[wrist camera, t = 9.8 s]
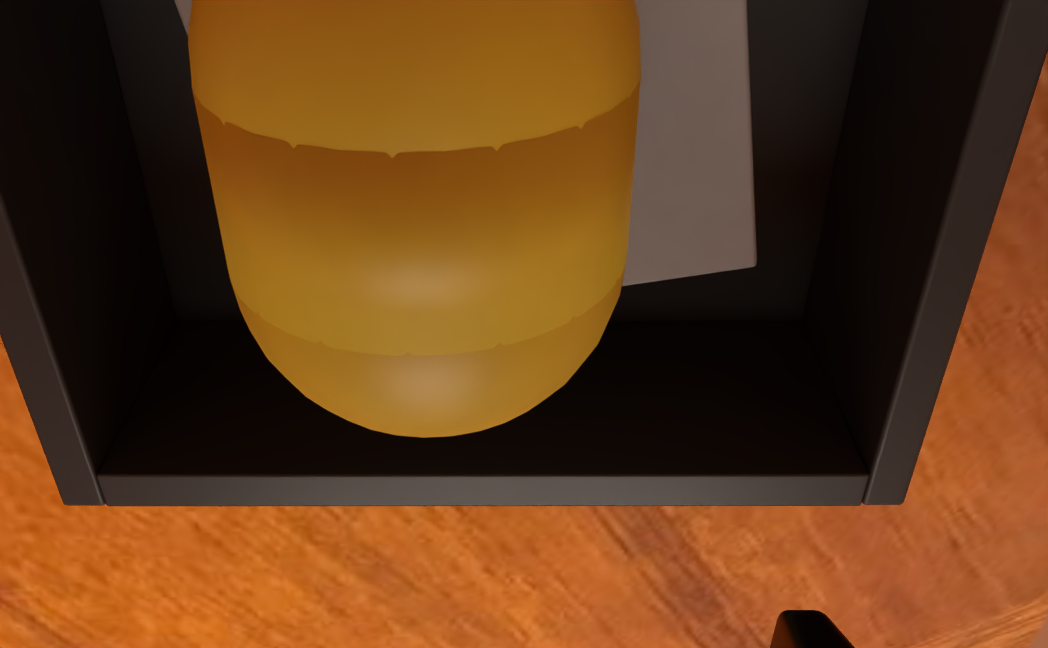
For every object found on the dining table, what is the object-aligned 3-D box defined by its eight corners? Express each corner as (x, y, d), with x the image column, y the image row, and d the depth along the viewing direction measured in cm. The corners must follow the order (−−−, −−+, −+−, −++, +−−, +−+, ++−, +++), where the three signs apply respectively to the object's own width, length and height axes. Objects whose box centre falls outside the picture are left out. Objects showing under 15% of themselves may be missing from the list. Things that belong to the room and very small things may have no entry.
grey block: (687, -301, 15) (736, -295, 11) (716, 166, 19) (758, 267, 16) (196, -200, 15) (108, -169, 12) (334, 226, 20) (297, 335, 17)
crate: (1024, -566, 13) (1290, -697, 9) (823, 334, 22) (904, 506, 18) (-77, -574, 13) (-396, -709, 9) (157, 334, 22) (63, 507, 17)
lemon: (277, -215, 12) (20, -162, 8) (680, -204, 11) (628, -138, 7) (338, 283, 17) (190, 489, 12) (635, 320, 16) (585, 553, 11)
